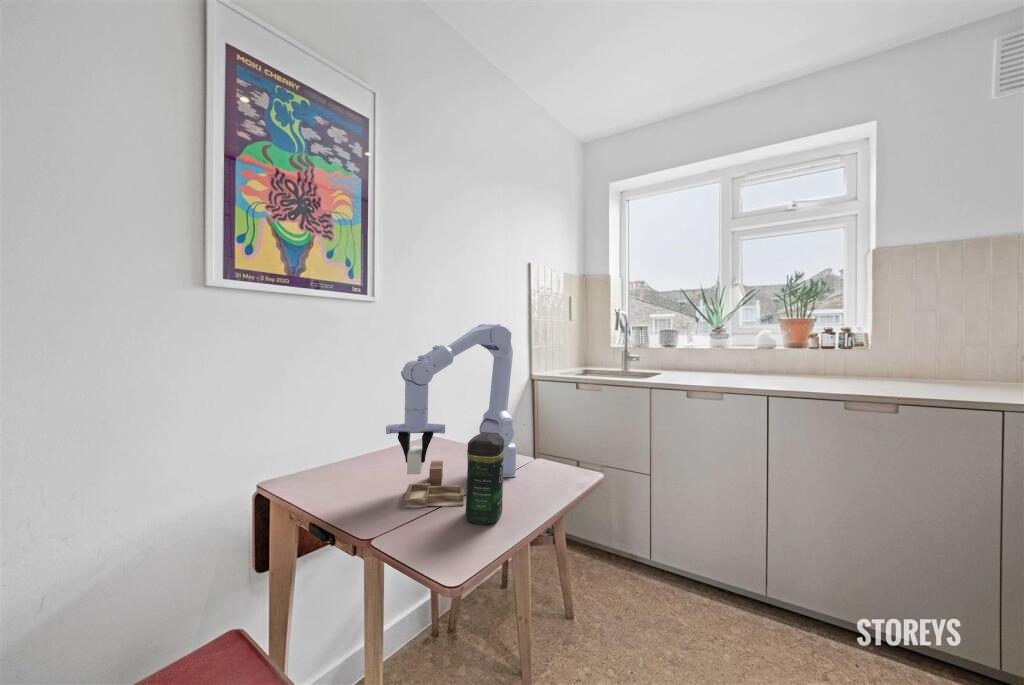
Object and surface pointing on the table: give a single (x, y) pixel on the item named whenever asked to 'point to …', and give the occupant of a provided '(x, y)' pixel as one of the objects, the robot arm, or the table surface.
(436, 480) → the tall wooden block
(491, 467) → the coffee jar
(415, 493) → the jig
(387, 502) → the table surface
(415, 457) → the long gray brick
